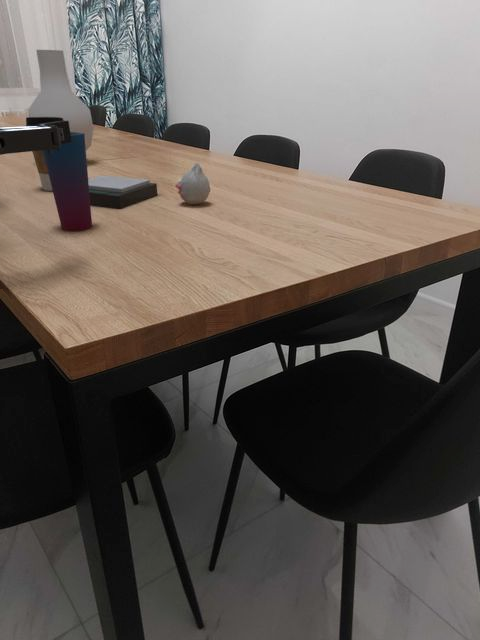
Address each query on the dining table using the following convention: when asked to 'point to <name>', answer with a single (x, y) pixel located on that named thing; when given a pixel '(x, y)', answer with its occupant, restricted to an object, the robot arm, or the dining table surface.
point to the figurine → (194, 186)
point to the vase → (60, 95)
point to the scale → (119, 191)
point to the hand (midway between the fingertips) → (23, 129)
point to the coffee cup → (39, 154)
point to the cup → (70, 183)
